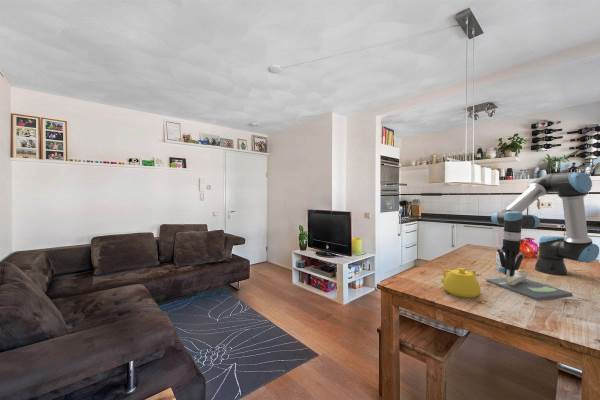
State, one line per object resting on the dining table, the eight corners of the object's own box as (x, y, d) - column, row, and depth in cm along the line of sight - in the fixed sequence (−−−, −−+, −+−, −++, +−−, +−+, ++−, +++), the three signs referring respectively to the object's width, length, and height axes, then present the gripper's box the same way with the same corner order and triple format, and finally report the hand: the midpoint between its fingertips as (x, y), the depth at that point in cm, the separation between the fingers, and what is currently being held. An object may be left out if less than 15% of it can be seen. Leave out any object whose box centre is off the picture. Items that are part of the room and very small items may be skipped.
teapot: (468, 302, 123) (469, 275, 122) (432, 288, 140) (432, 265, 139) (490, 293, 132) (491, 269, 132) (454, 282, 149) (455, 260, 148)
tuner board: (518, 278, 155) (518, 275, 155) (572, 295, 130) (572, 292, 130) (486, 281, 149) (486, 278, 149) (536, 300, 124) (536, 297, 124)
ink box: (517, 273, 164) (517, 255, 164) (502, 272, 166) (502, 254, 165) (509, 269, 173) (509, 252, 172) (494, 268, 174) (495, 251, 174)
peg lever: (516, 278, 150) (516, 268, 149) (527, 280, 146) (527, 270, 145) (503, 285, 139) (503, 274, 139) (514, 287, 135) (515, 277, 135)
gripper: (494, 237, 146) (492, 277, 147) (521, 242, 134) (518, 286, 135) (503, 236, 149) (500, 276, 150) (529, 241, 137) (526, 284, 138)
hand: (508, 281), depth 143 cm, fingers closed
